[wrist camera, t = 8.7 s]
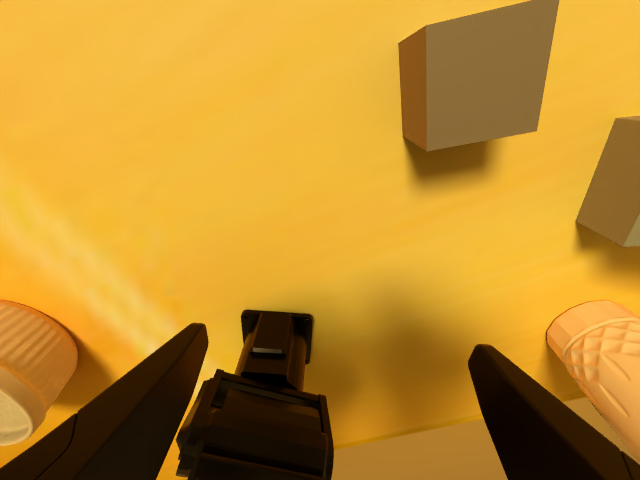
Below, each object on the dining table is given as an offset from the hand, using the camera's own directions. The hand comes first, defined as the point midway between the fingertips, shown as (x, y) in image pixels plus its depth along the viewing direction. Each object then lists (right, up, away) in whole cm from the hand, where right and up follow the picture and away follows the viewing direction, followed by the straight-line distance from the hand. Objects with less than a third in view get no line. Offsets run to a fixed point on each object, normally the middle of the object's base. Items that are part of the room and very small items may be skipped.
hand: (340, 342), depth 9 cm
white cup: (+24, -5, +16) cm, 29 cm away
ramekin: (-31, -7, +19) cm, 37 cm away
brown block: (+7, +13, +7) cm, 16 cm away
